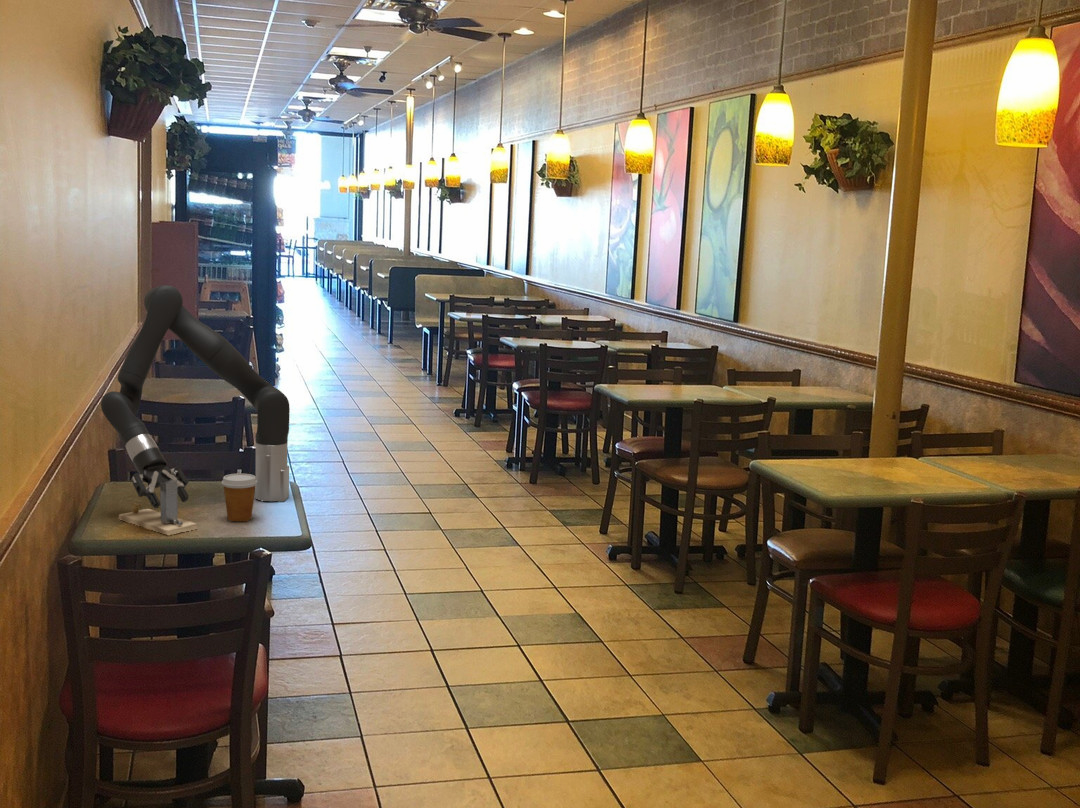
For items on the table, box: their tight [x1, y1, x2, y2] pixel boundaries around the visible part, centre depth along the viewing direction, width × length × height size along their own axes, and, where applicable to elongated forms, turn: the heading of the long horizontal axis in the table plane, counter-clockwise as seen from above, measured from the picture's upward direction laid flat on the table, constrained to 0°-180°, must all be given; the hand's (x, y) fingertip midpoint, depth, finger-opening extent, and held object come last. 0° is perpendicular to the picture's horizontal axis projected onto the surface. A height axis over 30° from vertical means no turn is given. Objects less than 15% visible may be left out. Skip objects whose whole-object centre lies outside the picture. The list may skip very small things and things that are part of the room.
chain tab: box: [159, 480, 183, 526], centre depth 283 cm, size 9×4×11 cm, turn 55°
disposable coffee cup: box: [221, 473, 257, 523], centre depth 295 cm, size 10×10×12 cm
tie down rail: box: [118, 502, 199, 535], centre depth 287 cm, size 22×9×4 cm, turn 55°
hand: (172, 503), depth 282 cm, fingers open, 8 cm apart
